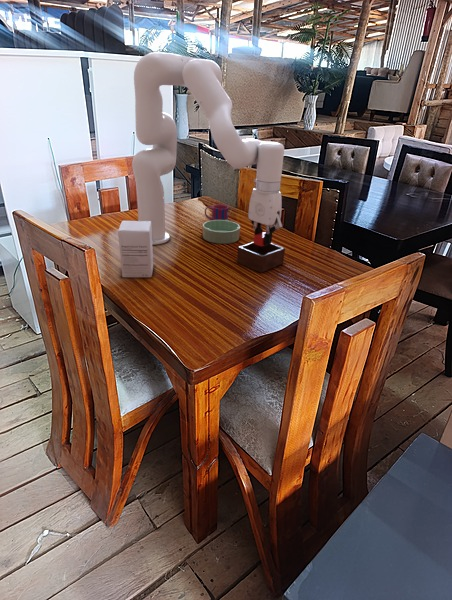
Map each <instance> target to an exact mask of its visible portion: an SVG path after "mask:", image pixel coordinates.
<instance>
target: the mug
mask: <svg viewBox="0 0 452 600" xmlns="http://www.w3.org/2000/svg"><path fill="white" fill-rule="evenodd" d="M208 209H211V212H212V213H211V215H212V216H208V214H207V210H208ZM229 210H230V207H229V206H228V205H226V204H214V205H212V206H206V207H205V209H204V215H205V217H206V218H207V219H209V220H210V221H211V220H228V221H229Z"/></svg>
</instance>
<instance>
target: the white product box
mask: <svg viewBox="0 0 452 600" xmlns="http://www.w3.org/2000/svg"><path fill="white" fill-rule="evenodd" d="M117 234H118V242H119V256H120V266H121V267H120V268H121V277H122V278H152V276H153V270H154V250H153V245H152V229H151V221H138V220H122V221H121V223H120V225H119V228H118V230H117Z"/></svg>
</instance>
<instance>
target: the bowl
mask: <svg viewBox="0 0 452 600" xmlns="http://www.w3.org/2000/svg"><path fill="white" fill-rule="evenodd" d="M201 229H202V239H203V240H205V241H206V242H209V243H213V244H225V245H226V244H233V243H236V242H237V241H239V240H240V237H241V236H240V235H241V234H240V233H241V225H240V224H239V223H237V222H235V221H233V220H229V219H228V220H211V219H210V220H207V221H205V222H203V223H202V228H201Z"/></svg>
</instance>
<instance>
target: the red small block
mask: <svg viewBox="0 0 452 600" xmlns="http://www.w3.org/2000/svg"><path fill="white" fill-rule="evenodd" d="M265 233H266V231H262V233H259V234H256V235H253V242H254V244H256V245H258V246H261V247H262V246H265V245H264V234H265Z"/></svg>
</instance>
